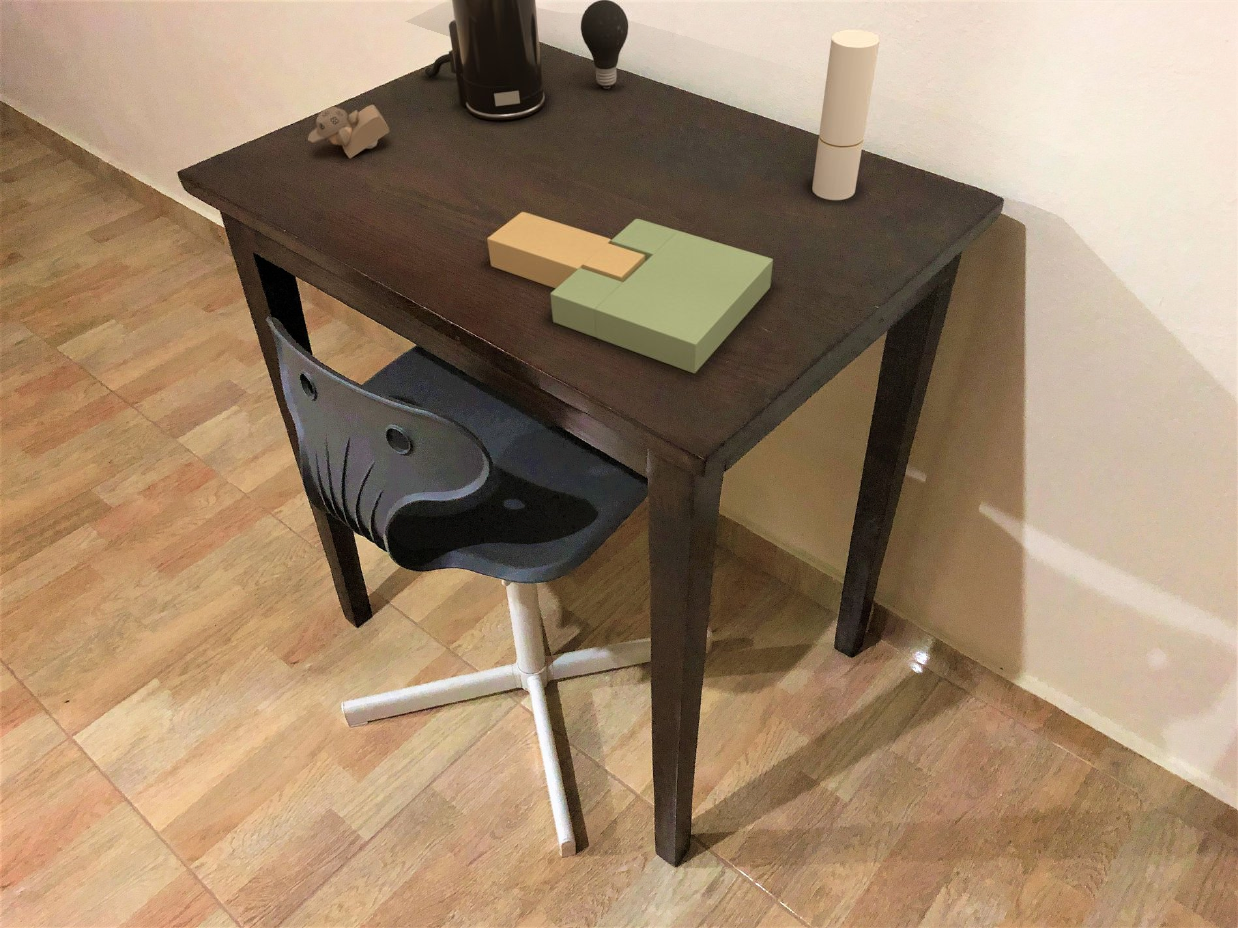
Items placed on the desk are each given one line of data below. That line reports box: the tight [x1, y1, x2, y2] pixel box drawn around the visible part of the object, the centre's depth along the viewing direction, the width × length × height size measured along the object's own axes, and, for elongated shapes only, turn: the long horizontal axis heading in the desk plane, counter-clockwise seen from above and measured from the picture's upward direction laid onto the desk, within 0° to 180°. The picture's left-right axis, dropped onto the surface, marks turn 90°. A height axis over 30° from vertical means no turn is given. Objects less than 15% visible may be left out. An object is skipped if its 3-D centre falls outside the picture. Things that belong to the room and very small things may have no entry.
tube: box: [812, 29, 881, 201], centre depth 90 cm, size 4×4×15 cm
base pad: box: [550, 218, 774, 374], centre depth 81 cm, size 14×14×3 cm
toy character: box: [307, 104, 390, 159], centre depth 103 cm, size 4×8×6 cm, turn 112°
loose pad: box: [486, 211, 645, 289], centre depth 85 cm, size 14×6×3 cm, turn 58°
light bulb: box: [580, 0, 629, 89], centre depth 111 cm, size 6×6×10 cm
